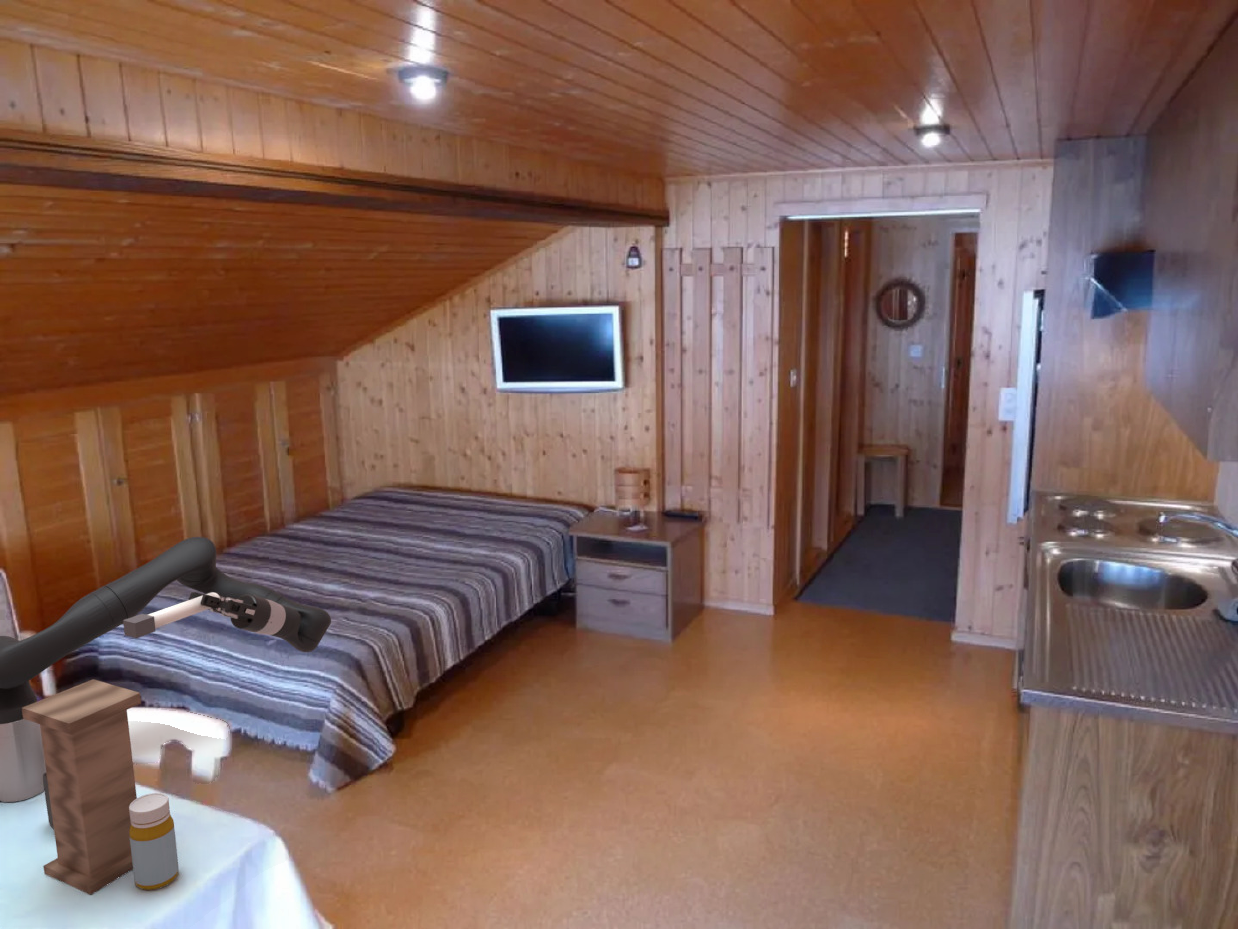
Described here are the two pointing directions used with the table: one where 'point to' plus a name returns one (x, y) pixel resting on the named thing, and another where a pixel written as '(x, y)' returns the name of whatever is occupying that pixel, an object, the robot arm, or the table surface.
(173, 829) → the bottle
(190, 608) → the hammer
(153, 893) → the table surface
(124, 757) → the pedestal
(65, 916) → the table surface
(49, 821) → the battery charger
